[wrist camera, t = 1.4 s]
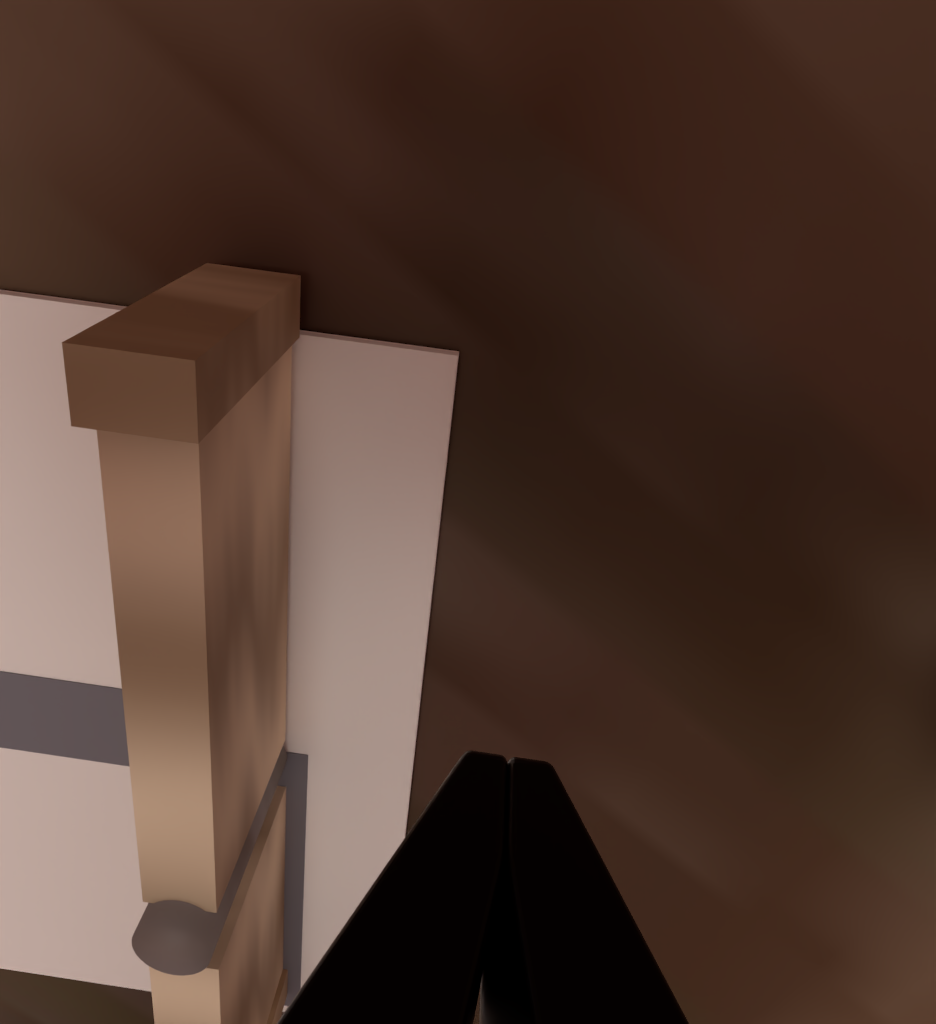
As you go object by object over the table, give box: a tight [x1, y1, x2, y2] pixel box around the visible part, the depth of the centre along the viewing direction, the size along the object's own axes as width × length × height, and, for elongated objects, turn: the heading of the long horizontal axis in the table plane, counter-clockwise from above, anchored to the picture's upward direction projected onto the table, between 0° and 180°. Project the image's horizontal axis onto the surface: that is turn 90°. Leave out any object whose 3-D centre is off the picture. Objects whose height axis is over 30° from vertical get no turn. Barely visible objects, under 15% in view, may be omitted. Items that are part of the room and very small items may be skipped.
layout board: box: [0, 289, 459, 1012], centre depth 22 cm, size 22×17×1 cm
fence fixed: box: [149, 786, 288, 1024], centre depth 22 cm, size 9×2×6 cm, turn 174°
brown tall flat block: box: [62, 263, 301, 976], centre depth 17 cm, size 13×2×6 cm, turn 174°
